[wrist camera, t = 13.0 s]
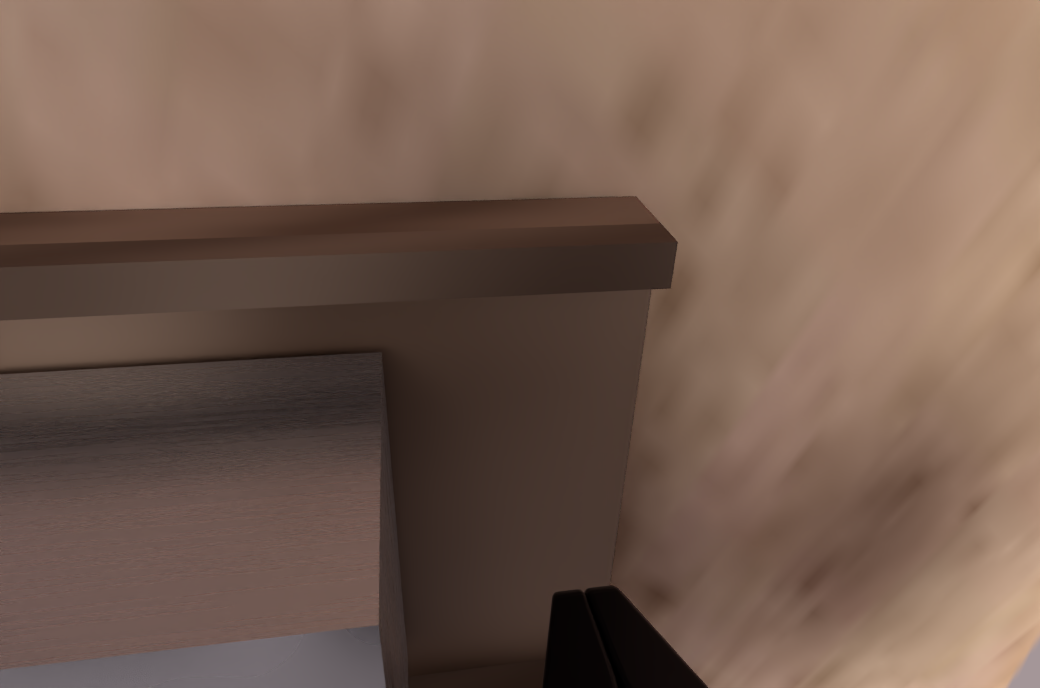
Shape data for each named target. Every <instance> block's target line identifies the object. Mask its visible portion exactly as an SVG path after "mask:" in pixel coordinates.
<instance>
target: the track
mask: <svg viewBox="0 0 1040 688" xmlns="http://www.w3.org/2000/svg"><path fill="white" fill-rule="evenodd" d="M677 243H678V242H677V241H676V240H675V239H674V237H673V236H672V235H671V234H670V233H669V232H668V231H667V230H666V229H665V228H664V226H663V225H662V224H661V223H660V222H659V221H658V220H657V219H656V218H655V217H654V216H653V214H652V213H651V212H650V211H649V210H648V209H647V208H646V207H645V206H644V205H643V203H642V202H641V201H640V200H639V199H638V198H637V197H600V198H563V199H525V200H488V201H450V202H413V203H375V204H338V205H300V206H263V207H225V208H188V209H150V210H113V211H76V212H38V213H1V214H0V374H16V373H33V372H50V371H67V370H84V369H101V368H118V367H135V366H152V365H169V364H186V363H203V362H220V361H237V360H254V359H271V358H288V357H305V356H322V355H338V354H355V353H372V352H382V361H383V373H384V385H385V397H386V408H387V420H388V432H389V444H390V455H391V467H392V479H393V491H394V502H395V514H396V526H397V538H398V549H399V561H400V573H401V585H402V596H403V608H404V620H405V632H406V643H407V655H408V688H542V684H543V675H544V666H545V657H546V648H547V639H548V630H549V621H550V612H551V603H552V596H553V594H554V593H555V592H558V591H567V590H575V589H580V590H582V591H583V592H585V590H586V589H588V588H592V587H600V586H609V585H610V581H611V573H612V566H613V559H614V552H615V545H616V538H617V531H618V523H619V516H620V509H621V502H622V495H623V488H624V481H625V474H626V466H627V459H628V452H629V445H630V438H631V431H632V424H633V417H634V409H635V402H636V395H637V388H638V381H639V374H640V367H641V359H642V352H643V345H644V338H645V331H646V324H647V317H648V310H649V302H650V295H651V289H667V288H671V282H672V275H673V269H674V263H675V256H676V250H677Z"/></svg>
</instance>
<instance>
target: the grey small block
mask: <svg viewBox="0 0 1040 688" xmlns="http://www.w3.org/2000/svg"><path fill="white" fill-rule="evenodd" d="M0 688H408V655H407V643H406V632H405V620H404V608H403V596H402V585H401V573H400V561H399V549H398V538H397V526H396V514H395V502H394V491H393V479H392V467H391V455H390V444H389V432H388V420H387V408H386V397H385V385H384V373H383V361H382V352H372V353H355V354H338V355H322V356H305V357H288V358H271V359H254V360H237V361H220V362H203V363H186V364H169V365H152V366H135V367H118V368H101V369H84V370H67V371H50V372H33V373H16V374H0Z"/></svg>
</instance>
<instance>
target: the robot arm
mask: <svg viewBox="0 0 1040 688" xmlns="http://www.w3.org/2000/svg"><path fill="white" fill-rule="evenodd" d="M542 688H708V687H707V686H706V685H705V683H704V682H703V681H702V680H701V679H700V678H699V677H698V676H697V675H696V673H695V672H694V671H693V670H692V669H691V668H690V667H689V666H688V665H687V664H686V662H685V661H684V660H683V659H682V658H681V657H680V656H679V655H678V654H677V652H676V651H675V650H674V649H673V648H672V647H671V646H670V645H669V644H668V643H667V641H666V640H665V639H664V638H663V637H662V636H661V635H660V634H659V633H658V631H657V630H656V629H655V628H654V627H653V626H652V625H651V624H650V623H649V622H648V620H647V619H646V618H645V617H644V616H643V615H642V614H641V613H640V612H639V610H638V609H637V608H636V607H635V606H634V605H633V604H632V603H631V602H630V601H629V599H628V598H627V597H626V596H625V595H624V594H623V593H622V592H621V591H620V590H619V589H618V588H617V587H615V586H611V585H609V586H600V587H592V588H588V589H586V590H585V592H583V591H582V590H580V589H575V590H567V591H558V592H555V593H554V594H553V596H552V603H551V612H550V621H549V630H548V639H547V648H546V657H545V666H544V675H543V684H542Z"/></svg>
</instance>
